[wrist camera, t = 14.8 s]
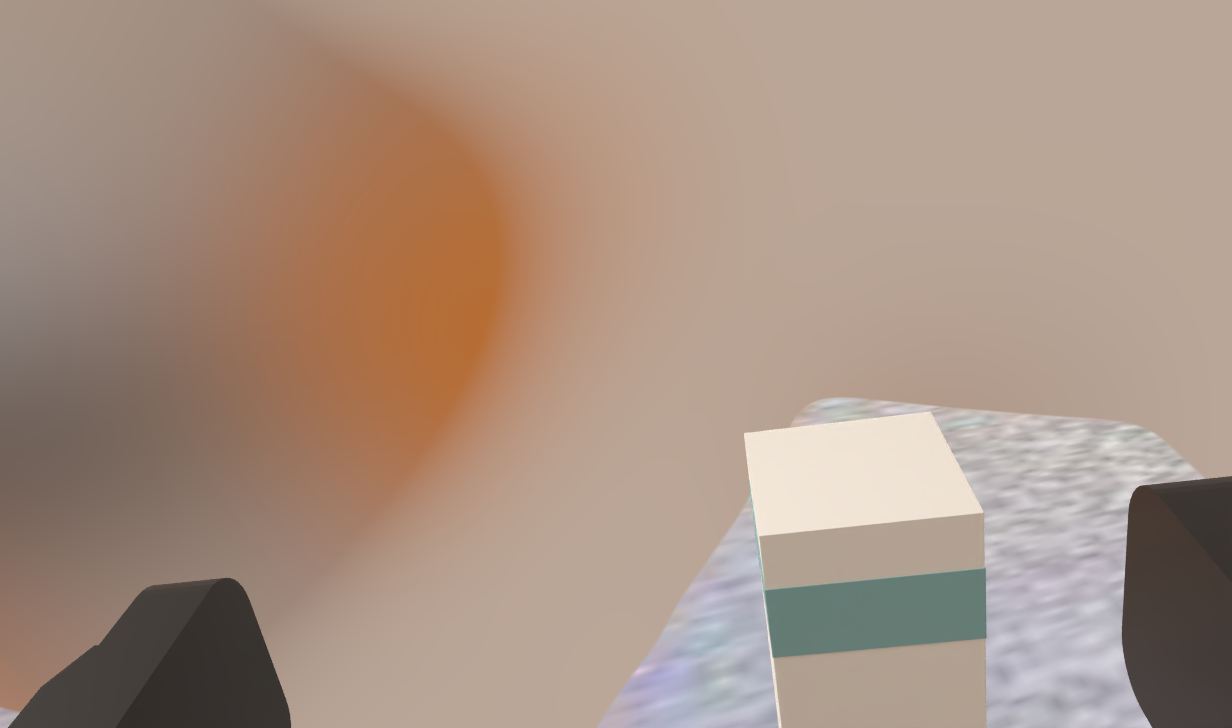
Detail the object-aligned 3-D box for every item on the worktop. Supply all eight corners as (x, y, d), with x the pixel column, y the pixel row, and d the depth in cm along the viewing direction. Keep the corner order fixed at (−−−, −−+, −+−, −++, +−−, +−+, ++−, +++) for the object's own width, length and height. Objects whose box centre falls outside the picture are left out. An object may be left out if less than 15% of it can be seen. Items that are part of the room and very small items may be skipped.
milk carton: (805, 934, 34) (758, 536, 28) (786, 792, 39) (743, 433, 33) (989, 923, 33) (984, 512, 27) (943, 779, 39) (930, 411, 32)
